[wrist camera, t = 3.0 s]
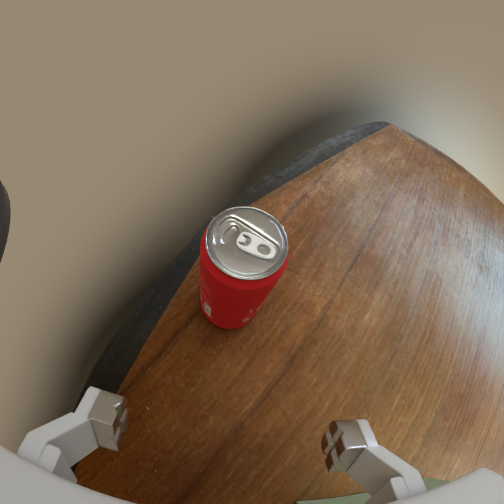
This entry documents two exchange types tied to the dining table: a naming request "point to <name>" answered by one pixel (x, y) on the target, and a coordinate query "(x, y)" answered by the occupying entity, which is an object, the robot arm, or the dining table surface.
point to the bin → (367, 495)
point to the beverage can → (240, 264)
